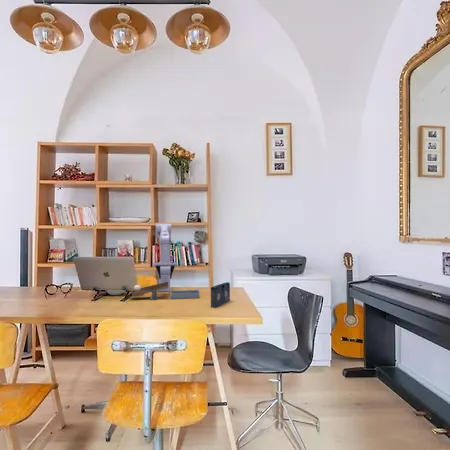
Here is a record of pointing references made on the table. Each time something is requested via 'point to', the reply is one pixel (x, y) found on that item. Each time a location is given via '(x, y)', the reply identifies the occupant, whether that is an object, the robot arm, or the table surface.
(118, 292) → the teacup
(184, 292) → the bin
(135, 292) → the lever
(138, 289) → the ball
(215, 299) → the vhs cassette tape
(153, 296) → the lever stand
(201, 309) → the table surface
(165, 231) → the robot arm
